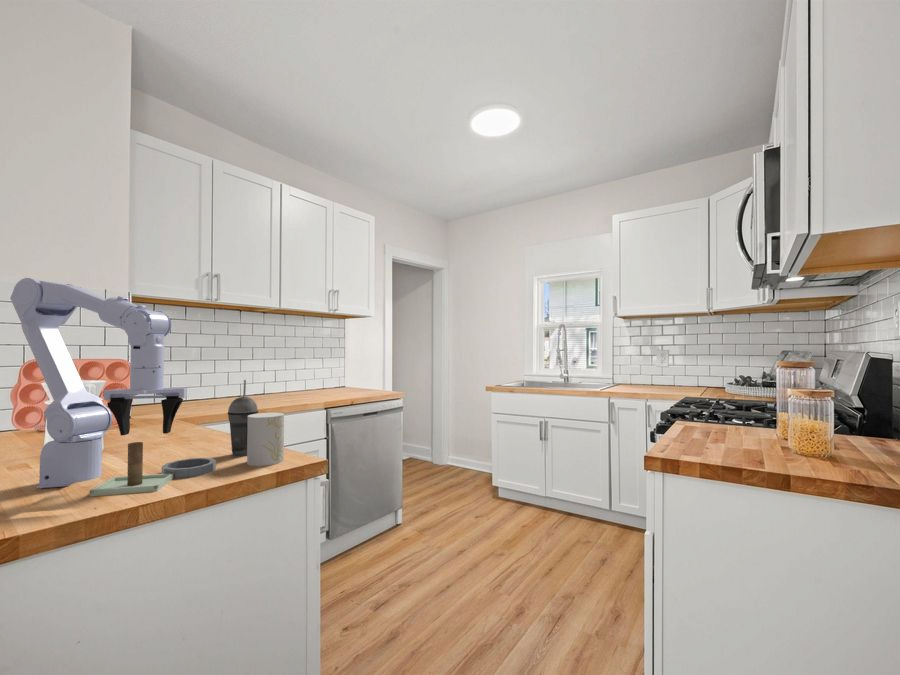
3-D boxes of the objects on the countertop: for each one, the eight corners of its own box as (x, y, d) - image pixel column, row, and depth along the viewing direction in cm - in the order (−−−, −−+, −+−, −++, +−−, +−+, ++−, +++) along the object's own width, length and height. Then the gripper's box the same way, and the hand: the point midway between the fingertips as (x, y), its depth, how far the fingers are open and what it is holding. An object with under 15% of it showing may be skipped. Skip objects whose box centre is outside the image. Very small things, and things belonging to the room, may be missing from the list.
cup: (270, 470, 100) (271, 417, 101) (239, 468, 102) (240, 417, 102) (290, 461, 108) (290, 413, 109) (261, 460, 110) (261, 412, 110)
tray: (89, 500, 80) (89, 490, 80) (113, 485, 89) (113, 477, 89) (157, 495, 83) (157, 485, 83) (174, 481, 92) (174, 472, 92)
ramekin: (154, 483, 90) (154, 470, 90) (171, 471, 100) (172, 459, 100) (207, 479, 93) (208, 467, 93) (219, 467, 103) (220, 456, 103)
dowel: (124, 486, 85) (125, 444, 85) (131, 482, 87) (132, 442, 87) (138, 485, 85) (138, 444, 85) (144, 481, 87) (145, 441, 88)
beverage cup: (252, 452, 118) (253, 378, 119) (262, 457, 113) (262, 379, 113) (223, 457, 113) (224, 379, 114) (231, 462, 108) (232, 381, 109)
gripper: (96, 369, 85) (94, 439, 85) (179, 368, 89) (178, 435, 88) (114, 367, 92) (113, 432, 92) (191, 367, 95) (190, 429, 95)
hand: (146, 433), depth 90 cm, fingers open, 7 cm apart
